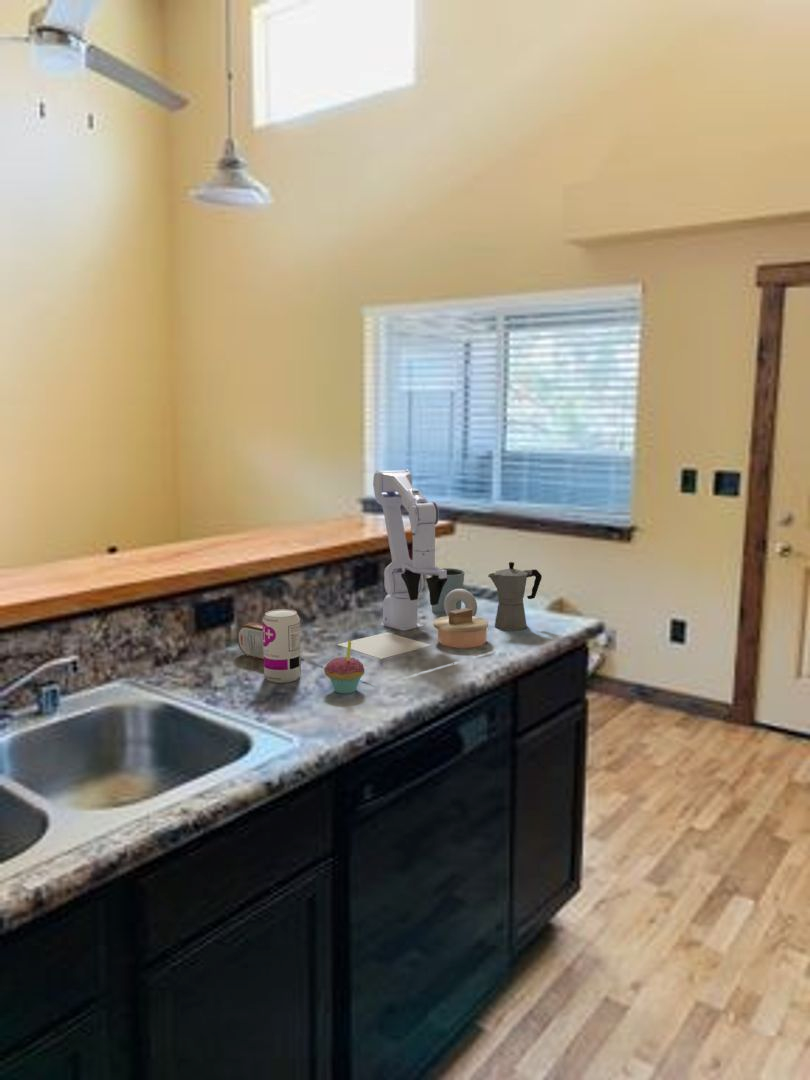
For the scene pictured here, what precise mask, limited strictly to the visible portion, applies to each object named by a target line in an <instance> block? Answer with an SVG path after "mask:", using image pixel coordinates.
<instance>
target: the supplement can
mask: <svg viewBox="0 0 810 1080" xmlns="http://www.w3.org/2000/svg"><path fill="white" fill-rule="evenodd" d="M300 621H301V620H300V617H299V615H298V611H296V610H293V609H272V610H269V611H267V612H265V613H264V617H262V624H263V651H264V660H263V673H264V675H263V677H264V678H265V679H266V681H269V682H271V683H276V684H286V683H292V682H294V681H297V680H298V679H299V678H300V676H301V675H302V668H301V663H302V662H301V659H302V658H301V625H300V624H301V623H300Z"/></svg>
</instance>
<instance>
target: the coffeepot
mask: <svg viewBox="0 0 810 1080" xmlns="http://www.w3.org/2000/svg"><path fill="white" fill-rule="evenodd" d="M508 566H509V567H508V568H506V569H500V570H496V571H495V572H492V573H489V574H488V575H487V576H488V578H490V579H491V581H492V582H493V585H494V586H495V588H496V592H497V597H498V603H497V610H496V616H495V623H494V628H496V627H497V628H496V629H500V630H503V631H520V630H524V629H527V620H526V619H527V618H526V612H525V605H524V604H525V603H524V597H525V592H526V585H527V579H528V578H531V577H535V578H534V582H533V586H532V589H531V594H530V595H527V599H528V600H533V599H535V598H536V595H537V592H538V589H539V587H540V583H541V581H542V576H543V575H542V574H541V572H540V571H539V570H537V569H525V570H520V569H517V568H514V566H515V562H513V561H510V562H508Z"/></svg>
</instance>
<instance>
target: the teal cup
mask: <svg viewBox="0 0 810 1080" xmlns="http://www.w3.org/2000/svg"><path fill="white" fill-rule="evenodd" d="M440 568H441V567H440ZM441 569H443V570H447V581H446V583H445V585H444V586H443V589H442V591H441V594H440V598H439V602H438V604H436V605H431V611H432V612H433V613H434V612H435V613H434V614H438V613H439V615H446V612H445V610H444V601H445V598H446V596H447V594H448V593H449V592H451V591H452V590H454V589H464V588H463V586H464V580H465V570H462V569H458V568H451V567H450V568H449V567H448V568H447V567H446V568H441ZM431 577H432V576H430V578H431ZM462 603H463V602H462V601H460V600H459V601H457V602H456V609H457V610H459V609H462Z"/></svg>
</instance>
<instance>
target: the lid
mask: <svg viewBox="0 0 810 1080" xmlns="http://www.w3.org/2000/svg"><path fill="white" fill-rule="evenodd" d="M433 627H434V628H435V629H437V630H438V629H439V630H443V631H449V632H475V631H480V630H483V629H486V630H487V628H488V627H489V621H488V620H487V619H484V618H483V617H478V616H475V617H474V616H472V609H468V608H465V607H464V608H461V609H459V610H454V611H450V612H449V616H447V615H446V616H441V617H438V618H434V620H433Z"/></svg>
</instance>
